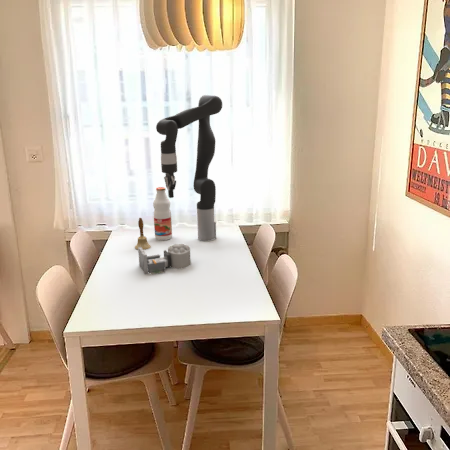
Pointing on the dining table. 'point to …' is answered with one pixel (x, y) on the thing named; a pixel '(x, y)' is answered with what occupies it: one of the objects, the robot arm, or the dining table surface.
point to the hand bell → (142, 237)
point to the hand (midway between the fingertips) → (171, 197)
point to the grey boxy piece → (161, 259)
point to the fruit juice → (162, 215)
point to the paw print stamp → (179, 256)
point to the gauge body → (150, 267)
